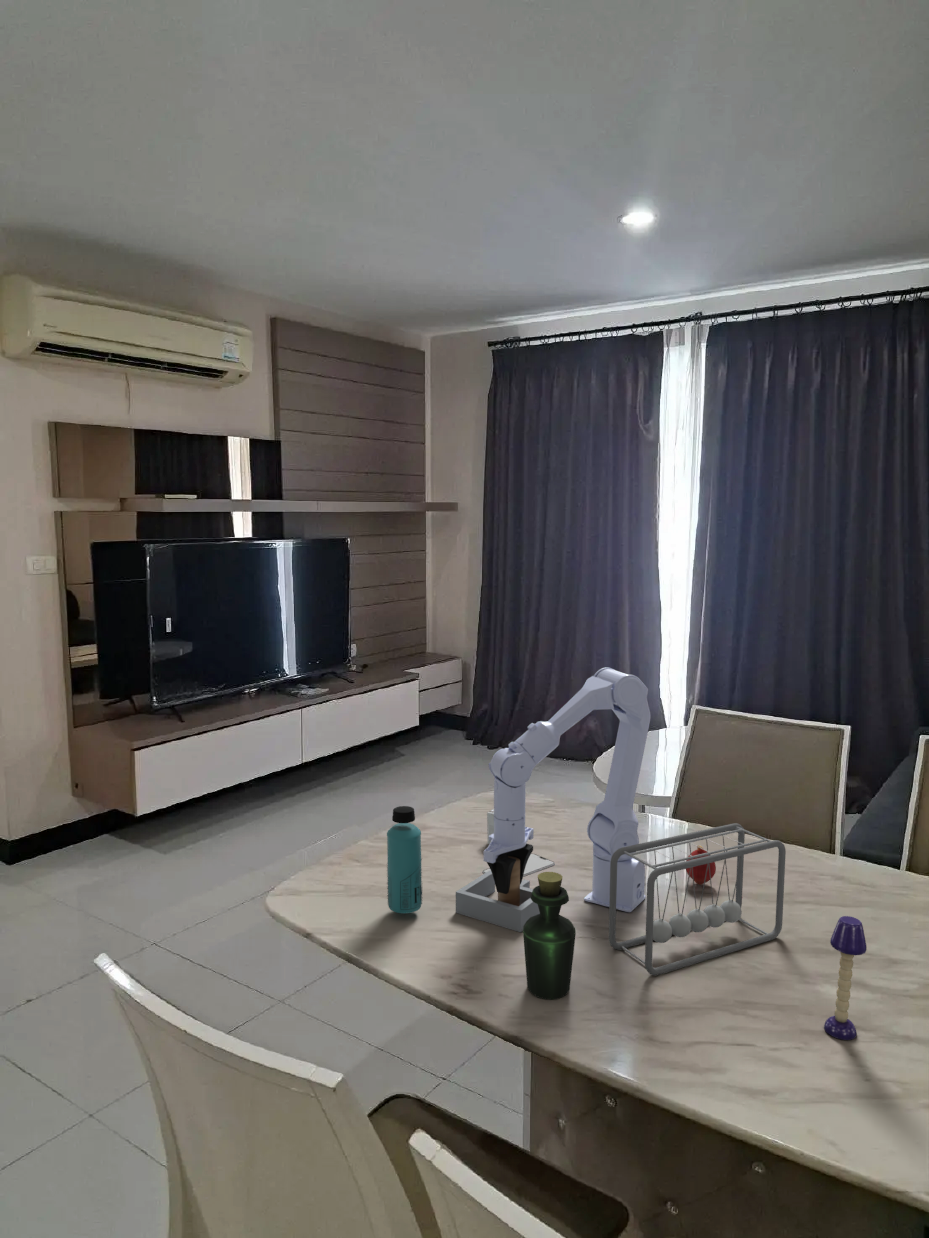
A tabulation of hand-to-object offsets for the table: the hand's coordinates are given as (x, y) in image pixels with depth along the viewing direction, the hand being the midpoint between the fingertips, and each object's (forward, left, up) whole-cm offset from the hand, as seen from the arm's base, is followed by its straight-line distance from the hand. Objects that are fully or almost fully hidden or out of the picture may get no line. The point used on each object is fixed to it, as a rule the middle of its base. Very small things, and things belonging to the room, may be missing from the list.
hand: (509, 887), depth 156 cm
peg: (0, 0, -4) cm, 4 cm away
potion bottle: (-18, +18, -6) cm, 26 cm away
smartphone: (+9, -20, -6) cm, 23 cm away
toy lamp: (-58, +5, -6) cm, 58 cm away
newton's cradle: (-32, -9, -6) cm, 34 cm away
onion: (-25, -33, -6) cm, 42 cm away
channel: (+2, -2, -5) cm, 6 cm away
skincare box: (+19, -31, -6) cm, 37 cm away
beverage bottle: (+16, +10, -6) cm, 20 cm away
